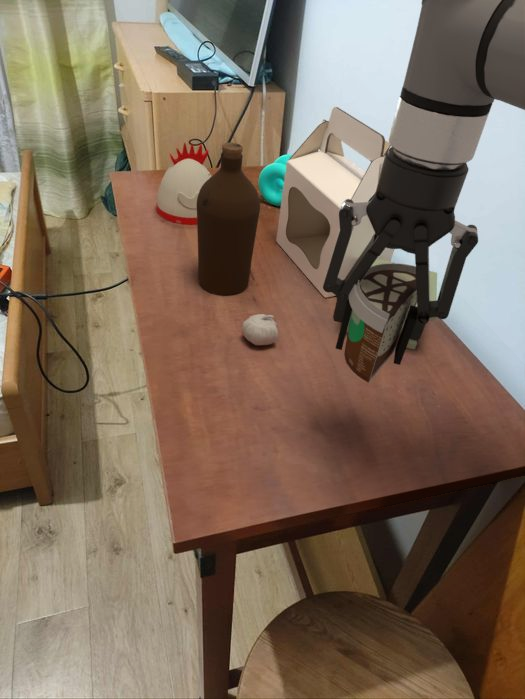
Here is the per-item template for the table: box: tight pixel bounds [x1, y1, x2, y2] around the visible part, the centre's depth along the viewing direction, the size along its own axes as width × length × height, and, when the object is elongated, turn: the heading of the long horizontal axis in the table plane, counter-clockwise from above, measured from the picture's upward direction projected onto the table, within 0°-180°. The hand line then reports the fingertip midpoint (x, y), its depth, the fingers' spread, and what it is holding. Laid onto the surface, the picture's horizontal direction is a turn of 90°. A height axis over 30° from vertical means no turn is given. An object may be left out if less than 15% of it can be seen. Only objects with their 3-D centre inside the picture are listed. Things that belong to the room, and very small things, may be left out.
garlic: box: [241, 313, 279, 346], centre depth 81 cm, size 6×5×5 cm
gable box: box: [275, 106, 395, 299], centre depth 95 cm, size 22×13×28 cm, turn 24°
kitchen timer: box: [156, 141, 212, 226], centre depth 111 cm, size 14×14×15 cm
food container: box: [344, 262, 417, 384], centre depth 58 cm, size 12×6×10 cm, turn 145°
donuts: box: [257, 153, 293, 207], centre depth 122 cm, size 10×10×10 cm
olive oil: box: [196, 142, 261, 296], centre depth 87 cm, size 11×11×25 cm
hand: (368, 349), depth 61 cm, fingers closed on food container, 6 cm apart
